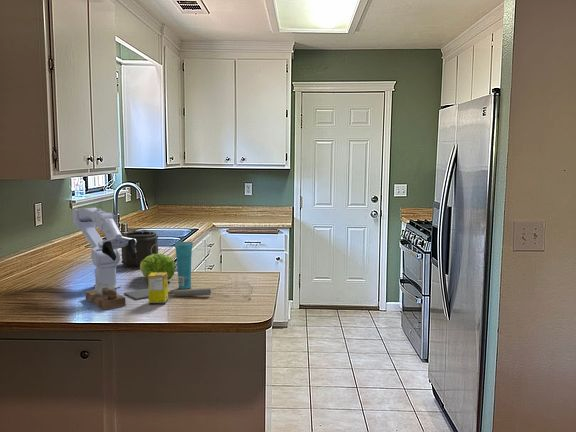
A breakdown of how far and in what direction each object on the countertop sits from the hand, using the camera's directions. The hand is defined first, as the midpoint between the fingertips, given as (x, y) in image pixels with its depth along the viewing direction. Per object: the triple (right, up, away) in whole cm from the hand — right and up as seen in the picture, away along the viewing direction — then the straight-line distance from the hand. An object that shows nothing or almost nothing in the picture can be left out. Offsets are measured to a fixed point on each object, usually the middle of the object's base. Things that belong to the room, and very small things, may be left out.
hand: (124, 257), depth 197 cm
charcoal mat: (+5, -15, +6) cm, 17 cm away
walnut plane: (-6, -16, -4) cm, 18 cm away
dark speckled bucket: (-12, -9, +62) cm, 64 cm away
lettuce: (+4, -12, +31) cm, 33 cm away
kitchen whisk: (+32, -16, +3) cm, 36 cm away
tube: (+19, -14, +17) cm, 29 cm away
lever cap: (-6, -13, -5) cm, 15 cm away
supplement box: (+14, -16, -5) cm, 22 cm away
